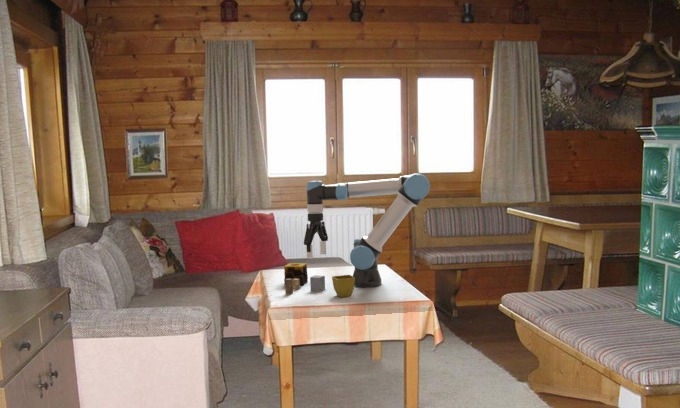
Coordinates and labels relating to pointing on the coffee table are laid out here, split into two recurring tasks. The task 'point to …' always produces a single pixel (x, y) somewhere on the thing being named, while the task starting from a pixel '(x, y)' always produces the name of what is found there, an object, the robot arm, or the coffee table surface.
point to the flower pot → (343, 285)
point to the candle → (296, 272)
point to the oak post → (296, 284)
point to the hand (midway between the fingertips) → (316, 256)
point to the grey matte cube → (317, 283)
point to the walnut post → (289, 286)
